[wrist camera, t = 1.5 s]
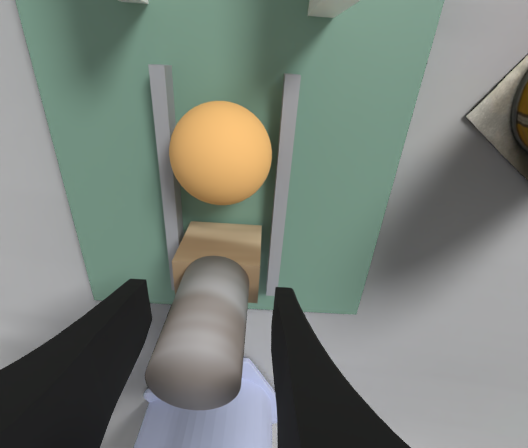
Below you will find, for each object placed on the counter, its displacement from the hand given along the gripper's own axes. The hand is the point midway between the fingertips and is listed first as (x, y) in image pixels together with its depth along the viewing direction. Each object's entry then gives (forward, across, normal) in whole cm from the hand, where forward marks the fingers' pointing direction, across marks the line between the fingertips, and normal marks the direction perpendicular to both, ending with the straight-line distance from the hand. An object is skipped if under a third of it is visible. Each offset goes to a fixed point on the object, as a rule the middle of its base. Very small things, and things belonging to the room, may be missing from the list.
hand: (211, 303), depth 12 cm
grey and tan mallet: (+5, 0, 0) cm, 5 cm away
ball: (+3, 0, -5) cm, 6 cm away
